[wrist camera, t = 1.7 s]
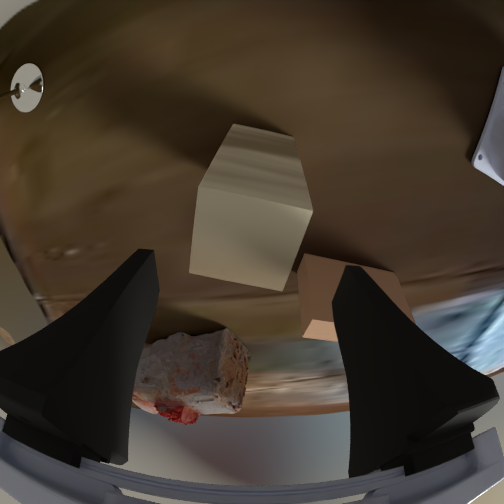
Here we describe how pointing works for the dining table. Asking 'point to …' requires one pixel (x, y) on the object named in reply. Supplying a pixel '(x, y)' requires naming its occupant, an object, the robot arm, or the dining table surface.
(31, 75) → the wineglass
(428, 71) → the dining table surface
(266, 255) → the beech stick
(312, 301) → the terracotta tile
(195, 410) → the food item
